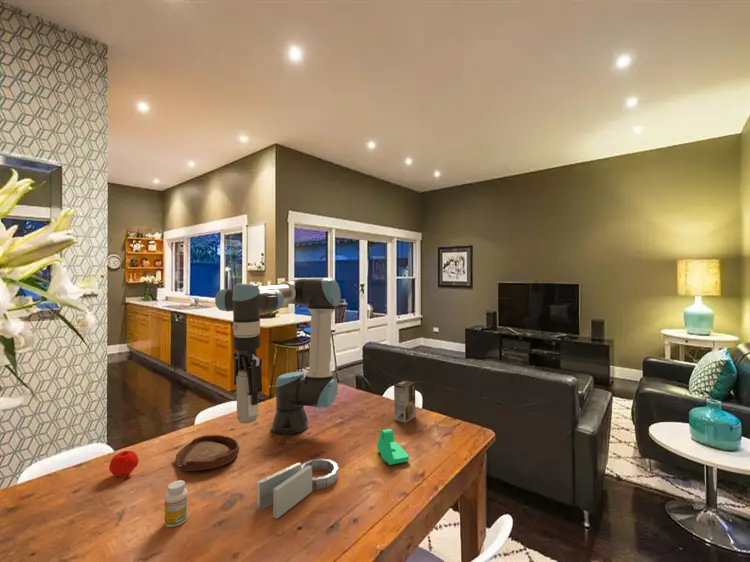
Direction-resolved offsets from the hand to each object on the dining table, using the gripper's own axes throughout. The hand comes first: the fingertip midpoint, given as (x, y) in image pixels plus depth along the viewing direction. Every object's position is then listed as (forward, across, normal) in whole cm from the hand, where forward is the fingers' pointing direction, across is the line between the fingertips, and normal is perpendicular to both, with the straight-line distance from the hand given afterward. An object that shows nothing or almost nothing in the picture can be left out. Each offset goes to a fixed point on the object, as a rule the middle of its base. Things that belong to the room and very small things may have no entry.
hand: (247, 412), depth 105 cm
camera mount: (+25, +18, +46) cm, 55 cm away
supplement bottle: (+24, -2, -19) cm, 31 cm away
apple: (+25, -39, -24) cm, 52 cm away
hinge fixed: (+25, +9, +12) cm, 29 cm away
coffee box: (+25, -2, +76) cm, 80 cm away
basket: (+25, -30, -1) cm, 39 cm away
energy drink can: (+3, 0, 0) cm, 3 cm away
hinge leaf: (+24, +15, +6) cm, 29 cm away
